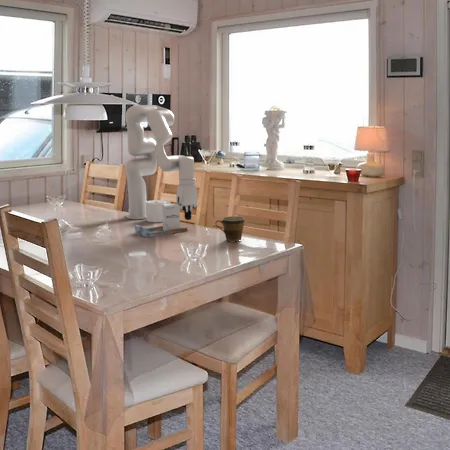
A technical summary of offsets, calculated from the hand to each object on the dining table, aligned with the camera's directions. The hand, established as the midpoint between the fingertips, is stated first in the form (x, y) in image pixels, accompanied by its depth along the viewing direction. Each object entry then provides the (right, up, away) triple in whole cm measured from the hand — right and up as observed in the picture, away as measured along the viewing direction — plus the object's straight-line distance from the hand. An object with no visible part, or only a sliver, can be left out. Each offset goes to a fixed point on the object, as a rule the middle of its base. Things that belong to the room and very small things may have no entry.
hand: (188, 219), depth 303 cm
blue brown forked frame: (-12, -6, -8) cm, 16 cm away
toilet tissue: (-17, -1, +21) cm, 27 cm away
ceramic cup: (+21, -10, -28) cm, 36 cm away
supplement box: (-8, -6, -5) cm, 11 cm away
